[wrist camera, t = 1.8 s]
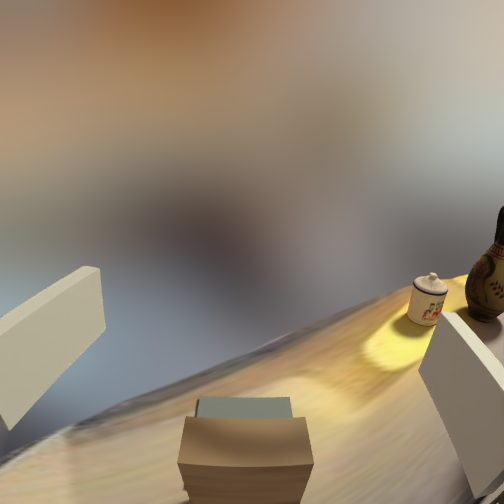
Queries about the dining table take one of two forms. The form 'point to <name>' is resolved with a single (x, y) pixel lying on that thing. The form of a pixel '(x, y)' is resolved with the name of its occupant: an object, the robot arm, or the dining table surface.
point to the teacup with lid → (427, 300)
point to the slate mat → (244, 408)
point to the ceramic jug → (488, 280)
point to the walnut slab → (245, 460)
